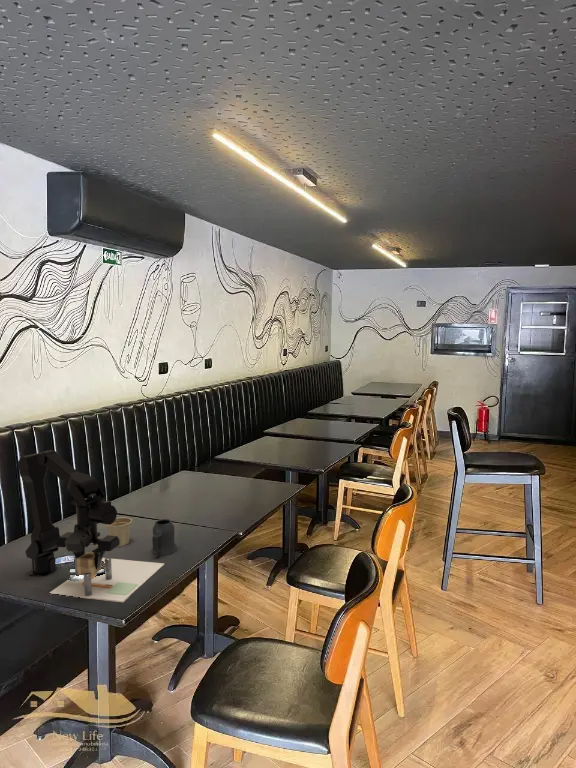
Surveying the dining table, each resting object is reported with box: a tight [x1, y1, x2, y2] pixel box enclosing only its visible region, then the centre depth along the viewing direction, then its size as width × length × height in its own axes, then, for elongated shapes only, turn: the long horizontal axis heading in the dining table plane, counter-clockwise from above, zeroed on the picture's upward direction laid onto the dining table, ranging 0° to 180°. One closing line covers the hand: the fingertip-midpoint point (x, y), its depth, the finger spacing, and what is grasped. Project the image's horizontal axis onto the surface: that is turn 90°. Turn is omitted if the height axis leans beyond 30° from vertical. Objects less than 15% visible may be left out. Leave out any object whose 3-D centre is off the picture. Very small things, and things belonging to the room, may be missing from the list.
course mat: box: [49, 557, 165, 604], centre depth 177 cm, size 25×26×1 cm
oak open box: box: [77, 551, 101, 576], centre depth 171 cm, size 5×5×5 cm
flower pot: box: [106, 516, 133, 547], centre depth 205 cm, size 9×9×9 cm
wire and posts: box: [73, 555, 113, 596], centre depth 174 cm, size 10×18×6 cm, turn 31°
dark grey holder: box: [151, 518, 178, 557], centre depth 195 cm, size 12×9×11 cm
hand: (89, 568), depth 171 cm, fingers closed on oak open box, 5 cm apart
